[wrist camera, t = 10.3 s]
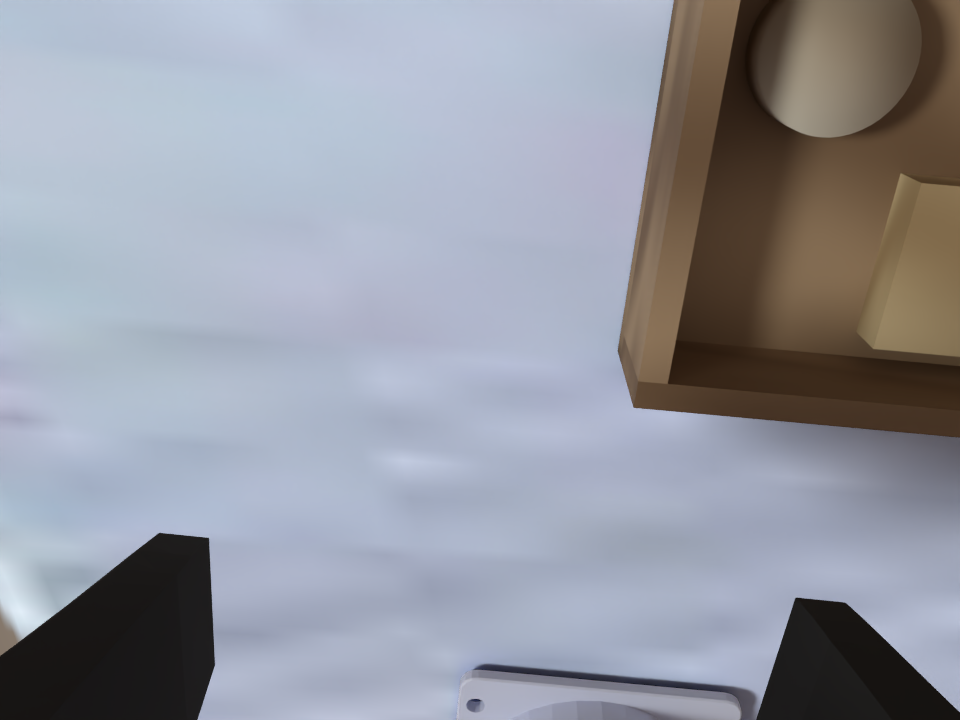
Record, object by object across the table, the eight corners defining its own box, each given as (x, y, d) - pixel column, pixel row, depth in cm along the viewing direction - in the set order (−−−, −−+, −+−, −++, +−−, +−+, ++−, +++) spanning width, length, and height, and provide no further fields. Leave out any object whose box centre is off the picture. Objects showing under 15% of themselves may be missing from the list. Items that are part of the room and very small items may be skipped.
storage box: (1036, 388, 20) (1118, 451, 17) (617, 350, 20) (633, 407, 17) (1217, -83, 16) (1363, -98, 13) (694, -130, 16) (731, -154, 13)
